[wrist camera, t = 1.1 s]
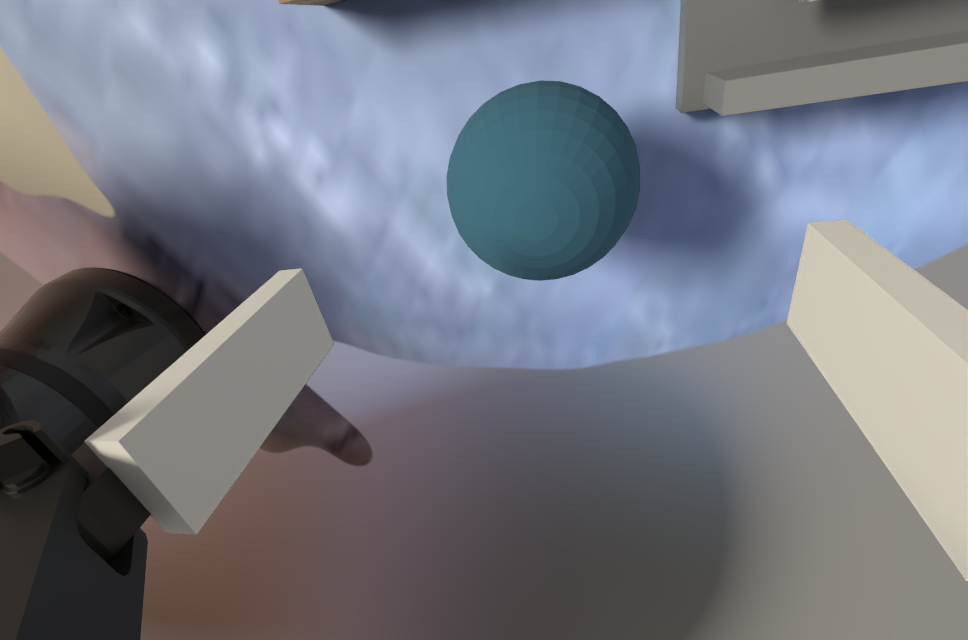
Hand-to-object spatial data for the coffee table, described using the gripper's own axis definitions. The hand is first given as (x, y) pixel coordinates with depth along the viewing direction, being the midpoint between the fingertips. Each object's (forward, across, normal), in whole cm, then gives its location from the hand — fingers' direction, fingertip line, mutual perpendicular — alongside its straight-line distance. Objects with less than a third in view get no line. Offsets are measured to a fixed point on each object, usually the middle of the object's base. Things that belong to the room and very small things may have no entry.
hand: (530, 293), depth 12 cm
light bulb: (+18, 0, 0) cm, 18 cm away
